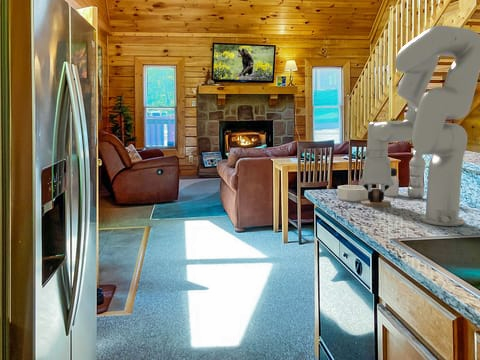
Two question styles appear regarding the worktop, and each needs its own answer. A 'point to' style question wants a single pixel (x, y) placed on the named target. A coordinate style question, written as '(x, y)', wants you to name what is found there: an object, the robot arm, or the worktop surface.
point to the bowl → (352, 193)
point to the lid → (375, 200)
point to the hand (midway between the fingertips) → (375, 201)
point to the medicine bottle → (395, 188)
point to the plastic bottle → (416, 176)
